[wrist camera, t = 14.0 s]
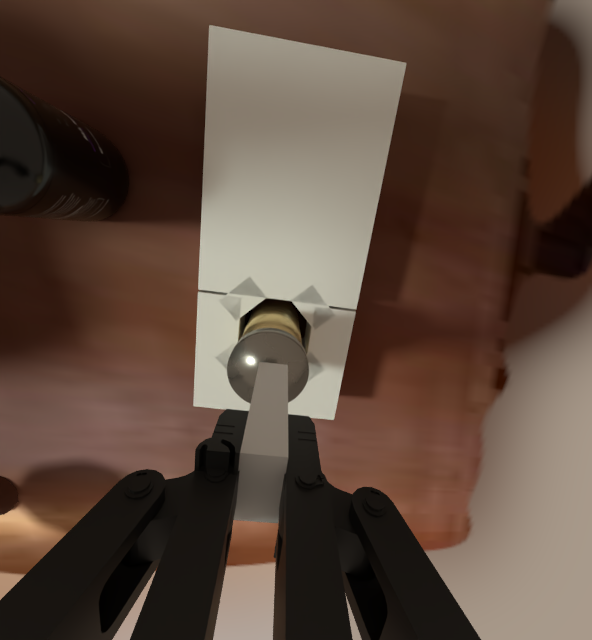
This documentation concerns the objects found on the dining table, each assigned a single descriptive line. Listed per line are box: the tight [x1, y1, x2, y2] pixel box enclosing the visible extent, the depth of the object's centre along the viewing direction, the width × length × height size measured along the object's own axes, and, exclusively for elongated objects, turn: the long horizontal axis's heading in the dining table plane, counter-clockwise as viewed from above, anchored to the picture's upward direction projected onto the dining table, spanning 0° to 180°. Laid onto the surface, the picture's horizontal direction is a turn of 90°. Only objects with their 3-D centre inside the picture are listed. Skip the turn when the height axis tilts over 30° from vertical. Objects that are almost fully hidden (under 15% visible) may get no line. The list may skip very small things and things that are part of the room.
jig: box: [193, 25, 407, 420], centre depth 23 cm, size 12×26×4 cm, turn 172°
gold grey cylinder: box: [227, 298, 309, 404], centre depth 22 cm, size 5×5×10 cm
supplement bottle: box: [0, 77, 129, 221], centre depth 17 cm, size 7×7×12 cm
